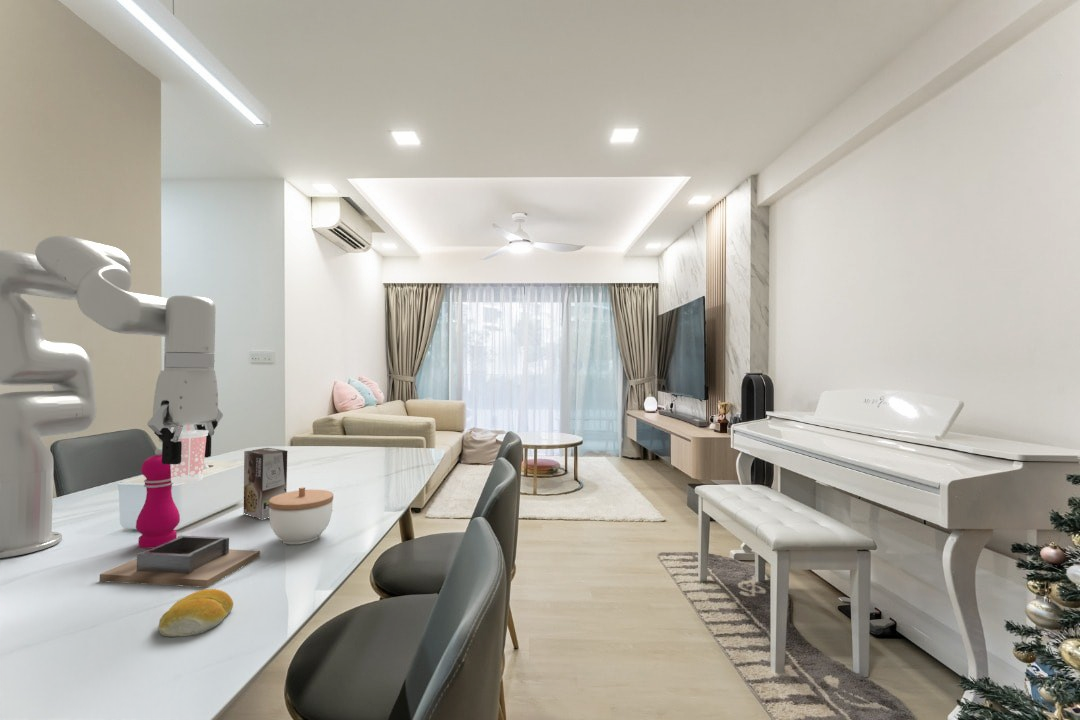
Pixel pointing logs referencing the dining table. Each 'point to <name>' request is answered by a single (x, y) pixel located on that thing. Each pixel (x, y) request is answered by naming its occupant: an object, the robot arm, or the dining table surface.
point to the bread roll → (196, 613)
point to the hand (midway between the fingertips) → (187, 459)
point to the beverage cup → (190, 457)
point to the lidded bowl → (300, 515)
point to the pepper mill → (157, 504)
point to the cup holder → (183, 563)
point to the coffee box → (263, 479)
